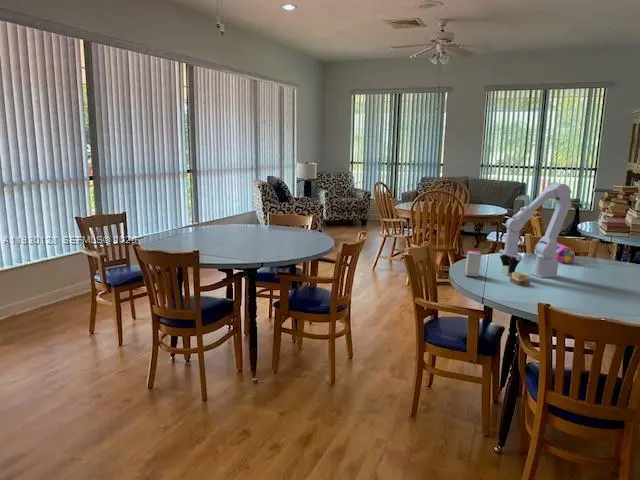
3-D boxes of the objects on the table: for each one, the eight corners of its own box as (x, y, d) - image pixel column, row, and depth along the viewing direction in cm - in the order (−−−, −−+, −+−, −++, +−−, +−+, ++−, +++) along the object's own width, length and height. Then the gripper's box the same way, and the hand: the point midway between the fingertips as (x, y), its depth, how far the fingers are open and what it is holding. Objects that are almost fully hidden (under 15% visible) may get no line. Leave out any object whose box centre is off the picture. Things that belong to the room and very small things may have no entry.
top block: (509, 273, 237) (510, 265, 237) (514, 275, 234) (515, 267, 233) (502, 273, 236) (502, 265, 236) (507, 275, 233) (508, 267, 232)
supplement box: (478, 277, 228) (481, 253, 225) (465, 276, 229) (467, 252, 227) (477, 274, 233) (479, 251, 231) (464, 273, 235) (466, 250, 232)
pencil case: (540, 254, 281) (542, 239, 279) (556, 255, 281) (559, 239, 279) (557, 264, 260) (559, 247, 258) (575, 264, 260) (577, 248, 258)
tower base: (520, 282, 225) (521, 276, 224) (529, 285, 219) (530, 280, 219) (509, 282, 223) (510, 277, 223) (517, 286, 218) (518, 281, 217)
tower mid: (521, 277, 223) (521, 272, 223) (528, 280, 218) (528, 275, 218) (511, 277, 222) (512, 272, 221) (518, 280, 217) (518, 275, 217)
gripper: (495, 240, 238) (492, 268, 241) (513, 247, 224) (510, 276, 227) (507, 240, 240) (504, 267, 242) (527, 246, 226) (523, 275, 229)
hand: (508, 271), depth 235 cm, fingers closed on top block, 4 cm apart
